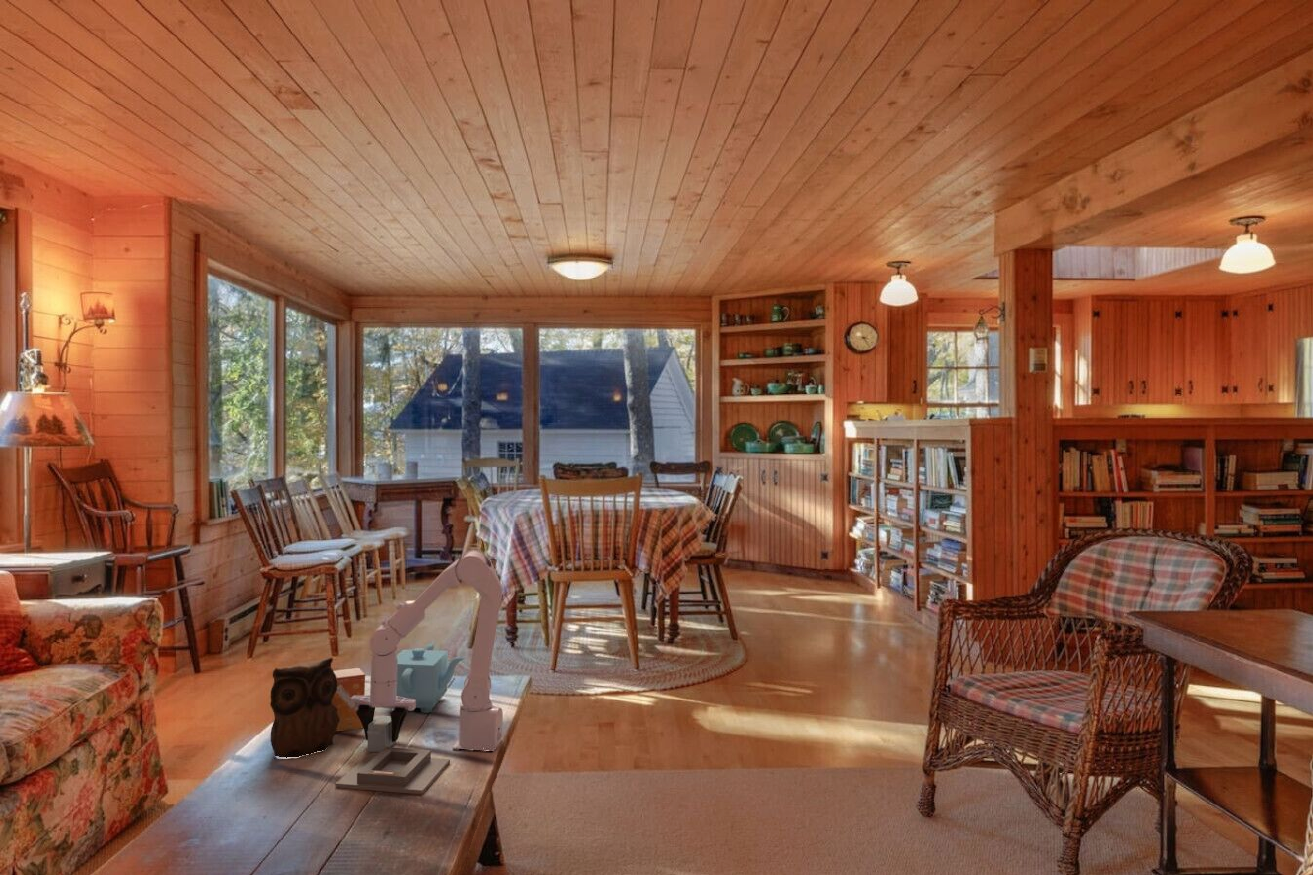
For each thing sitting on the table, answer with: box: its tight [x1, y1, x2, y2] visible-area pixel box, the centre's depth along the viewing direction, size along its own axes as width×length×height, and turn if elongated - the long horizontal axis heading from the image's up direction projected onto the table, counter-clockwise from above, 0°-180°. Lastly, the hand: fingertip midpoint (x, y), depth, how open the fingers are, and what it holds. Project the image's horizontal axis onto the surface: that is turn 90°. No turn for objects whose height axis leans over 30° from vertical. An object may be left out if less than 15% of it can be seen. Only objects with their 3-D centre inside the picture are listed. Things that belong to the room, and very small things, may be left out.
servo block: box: [367, 714, 397, 753], centre depth 192 cm, size 4×9×6 cm, turn 174°
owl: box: [269, 657, 340, 758], centre depth 187 cm, size 13×13×20 cm
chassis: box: [335, 746, 451, 795], centre depth 177 cm, size 18×16×3 cm
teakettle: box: [370, 642, 467, 714], centre depth 220 cm, size 19×19×15 cm
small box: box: [332, 667, 366, 733], centre depth 203 cm, size 8×6×13 cm
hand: (382, 739), depth 192 cm, fingers open, 5 cm apart
